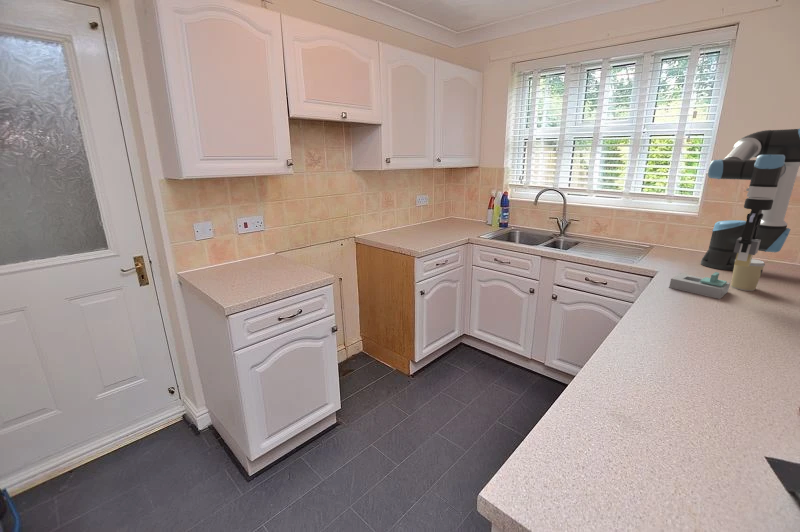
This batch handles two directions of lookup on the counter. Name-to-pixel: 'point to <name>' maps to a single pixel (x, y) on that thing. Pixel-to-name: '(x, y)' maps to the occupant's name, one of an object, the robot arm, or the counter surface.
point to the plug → (752, 251)
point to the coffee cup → (747, 275)
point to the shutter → (713, 280)
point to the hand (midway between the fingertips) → (743, 258)
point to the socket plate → (697, 286)
